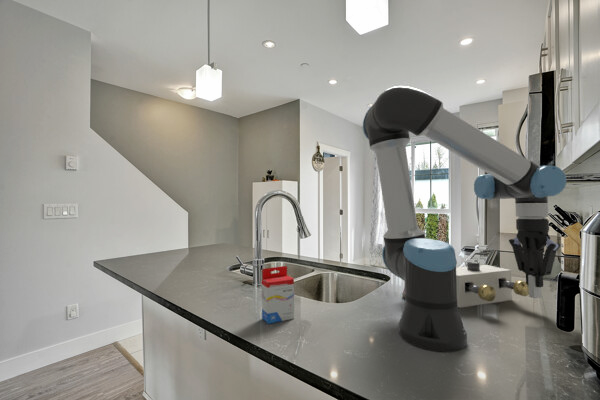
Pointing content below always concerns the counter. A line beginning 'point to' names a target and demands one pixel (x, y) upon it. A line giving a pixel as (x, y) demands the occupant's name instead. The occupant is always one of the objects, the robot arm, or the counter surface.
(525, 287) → the knob right
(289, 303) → the ink box
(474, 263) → the dial
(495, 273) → the console
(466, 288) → the knob left
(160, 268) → the counter surface
